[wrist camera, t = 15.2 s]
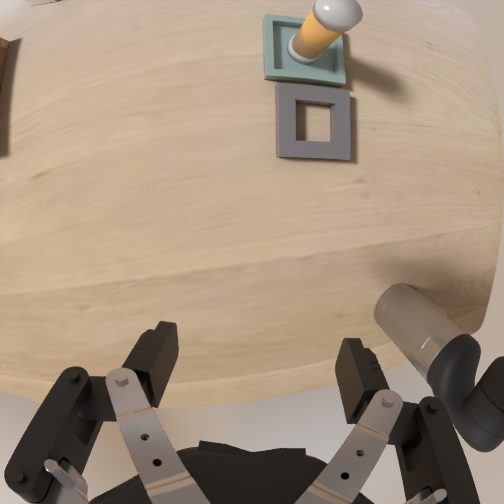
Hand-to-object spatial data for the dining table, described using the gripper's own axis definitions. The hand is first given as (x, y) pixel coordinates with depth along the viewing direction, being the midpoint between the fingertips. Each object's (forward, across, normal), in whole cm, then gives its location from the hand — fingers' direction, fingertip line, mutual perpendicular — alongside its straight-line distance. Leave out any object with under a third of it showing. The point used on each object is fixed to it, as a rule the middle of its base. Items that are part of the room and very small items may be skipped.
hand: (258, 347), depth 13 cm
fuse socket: (+29, -5, -13) cm, 32 cm away
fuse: (+28, -3, -24) cm, 38 cm away
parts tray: (+29, -3, -24) cm, 38 cm away
